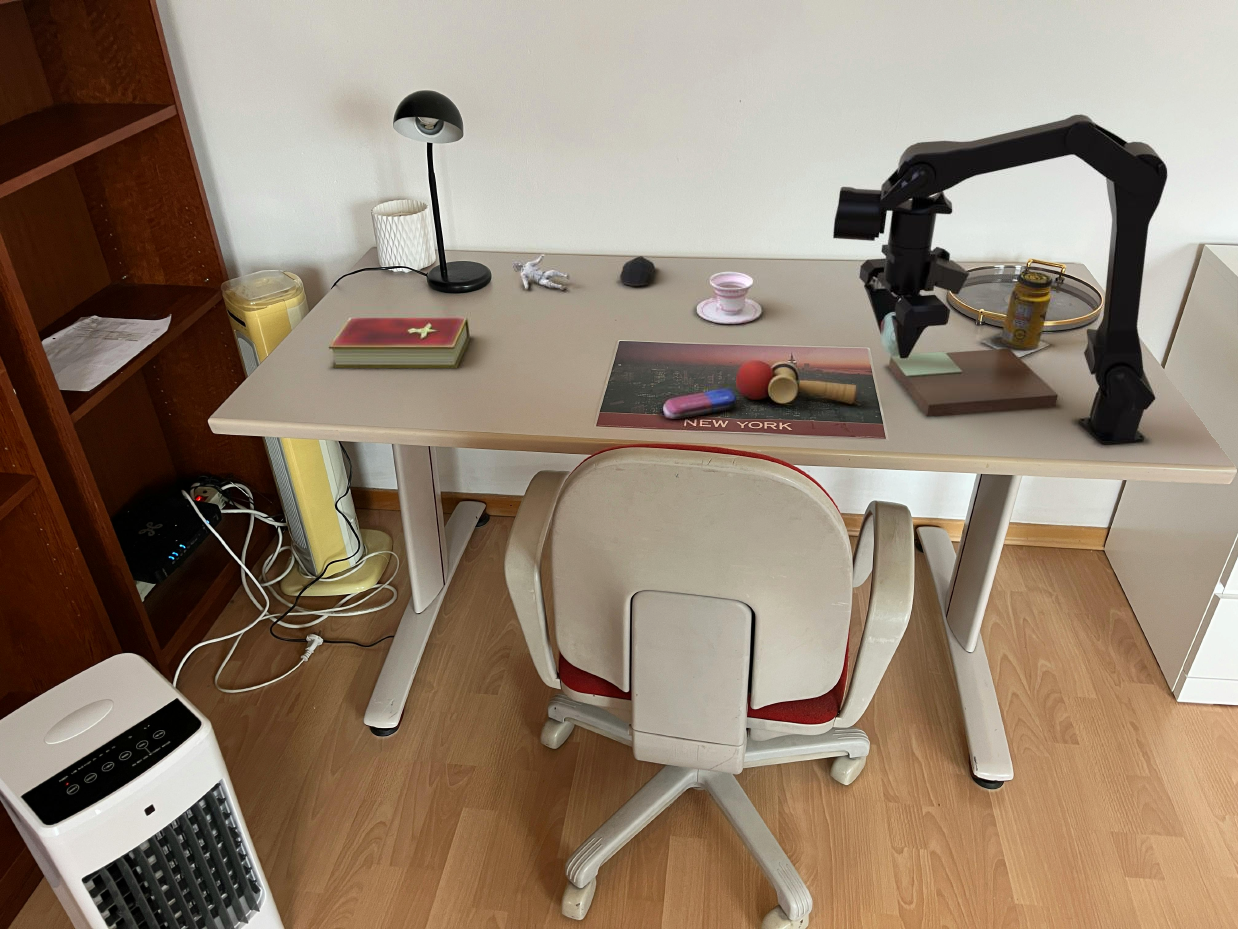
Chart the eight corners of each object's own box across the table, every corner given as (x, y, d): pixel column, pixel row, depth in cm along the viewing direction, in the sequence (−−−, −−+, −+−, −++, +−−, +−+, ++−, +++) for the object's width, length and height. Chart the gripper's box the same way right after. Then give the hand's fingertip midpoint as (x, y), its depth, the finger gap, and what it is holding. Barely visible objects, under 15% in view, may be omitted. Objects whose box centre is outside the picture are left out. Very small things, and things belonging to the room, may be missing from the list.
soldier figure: (554, 301, 177) (501, 275, 179) (558, 308, 182) (506, 283, 184) (572, 266, 178) (519, 241, 180) (576, 275, 183) (524, 250, 184)
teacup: (773, 318, 166) (776, 286, 162) (714, 329, 162) (715, 297, 159) (742, 294, 175) (744, 264, 172) (685, 305, 172) (686, 274, 168)
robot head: (908, 368, 130) (915, 325, 126) (878, 367, 131) (884, 323, 127) (903, 344, 137) (910, 302, 133) (875, 343, 137) (881, 301, 134)
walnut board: (1055, 406, 137) (1058, 393, 136) (926, 416, 135) (929, 403, 134) (1006, 359, 150) (1009, 347, 149) (888, 367, 149) (890, 355, 147)
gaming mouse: (660, 262, 191) (660, 243, 188) (649, 289, 179) (649, 270, 176) (630, 260, 192) (630, 242, 190) (617, 287, 180) (617, 268, 177)
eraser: (668, 422, 136) (668, 411, 135) (660, 408, 139) (659, 398, 138) (739, 409, 138) (739, 398, 137) (729, 396, 141) (729, 386, 140)
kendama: (847, 395, 144) (735, 375, 145) (858, 364, 139) (742, 343, 140) (848, 427, 138) (730, 406, 139) (859, 396, 134) (738, 374, 135)
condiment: (1049, 345, 154) (1067, 278, 148) (1017, 358, 150) (1034, 290, 144) (1012, 330, 159) (1028, 265, 153) (981, 343, 155) (995, 276, 149)
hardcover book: (354, 337, 163) (349, 315, 161) (469, 337, 162) (467, 315, 160) (333, 367, 153) (328, 345, 151) (456, 368, 152) (453, 345, 150)
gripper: (998, 262, 117) (975, 371, 125) (939, 216, 132) (922, 316, 141) (914, 268, 116) (896, 377, 124) (864, 221, 131) (852, 321, 140)
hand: (894, 346), depth 132 cm, fingers closed on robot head, 7 cm apart
